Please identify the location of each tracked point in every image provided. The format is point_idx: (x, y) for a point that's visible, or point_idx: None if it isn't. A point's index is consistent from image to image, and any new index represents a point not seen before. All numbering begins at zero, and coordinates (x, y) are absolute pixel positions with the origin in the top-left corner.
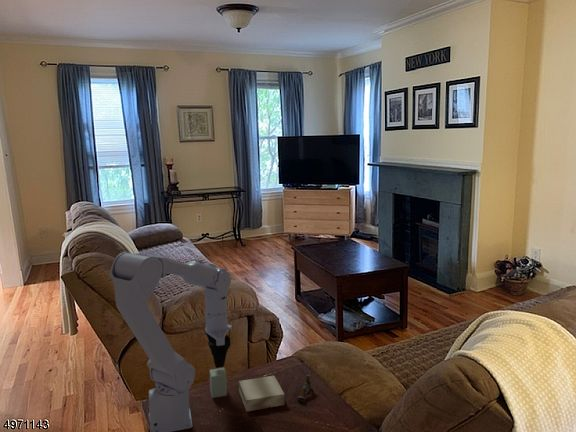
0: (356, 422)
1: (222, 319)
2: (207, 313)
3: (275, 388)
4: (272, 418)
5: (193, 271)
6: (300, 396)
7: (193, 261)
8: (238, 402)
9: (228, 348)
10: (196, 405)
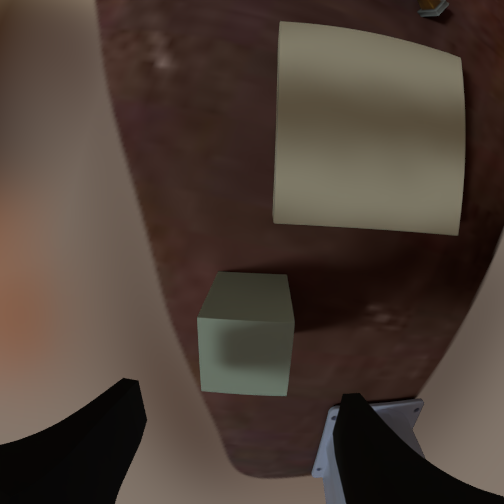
0: None
1: None
2: None
3: (412, 66)
4: (491, 150)
5: None
6: (440, 6)
7: None
8: (361, 238)
9: (472, 486)
10: (310, 386)
